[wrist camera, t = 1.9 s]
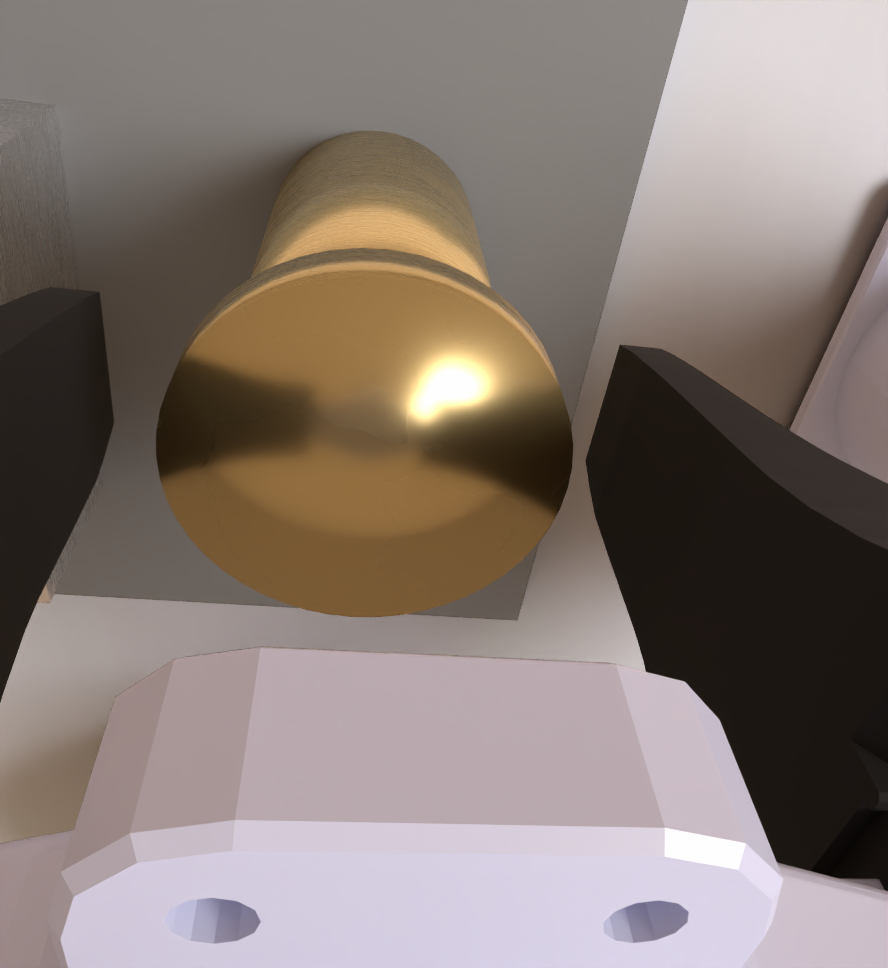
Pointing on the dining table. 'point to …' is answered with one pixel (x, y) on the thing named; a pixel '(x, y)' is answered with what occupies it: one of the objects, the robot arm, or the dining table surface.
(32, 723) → the dining table surface
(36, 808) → the dining table surface
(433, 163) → the brass door knob
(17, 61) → the mat
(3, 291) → the block
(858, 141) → the dining table surface
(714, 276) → the dining table surface
